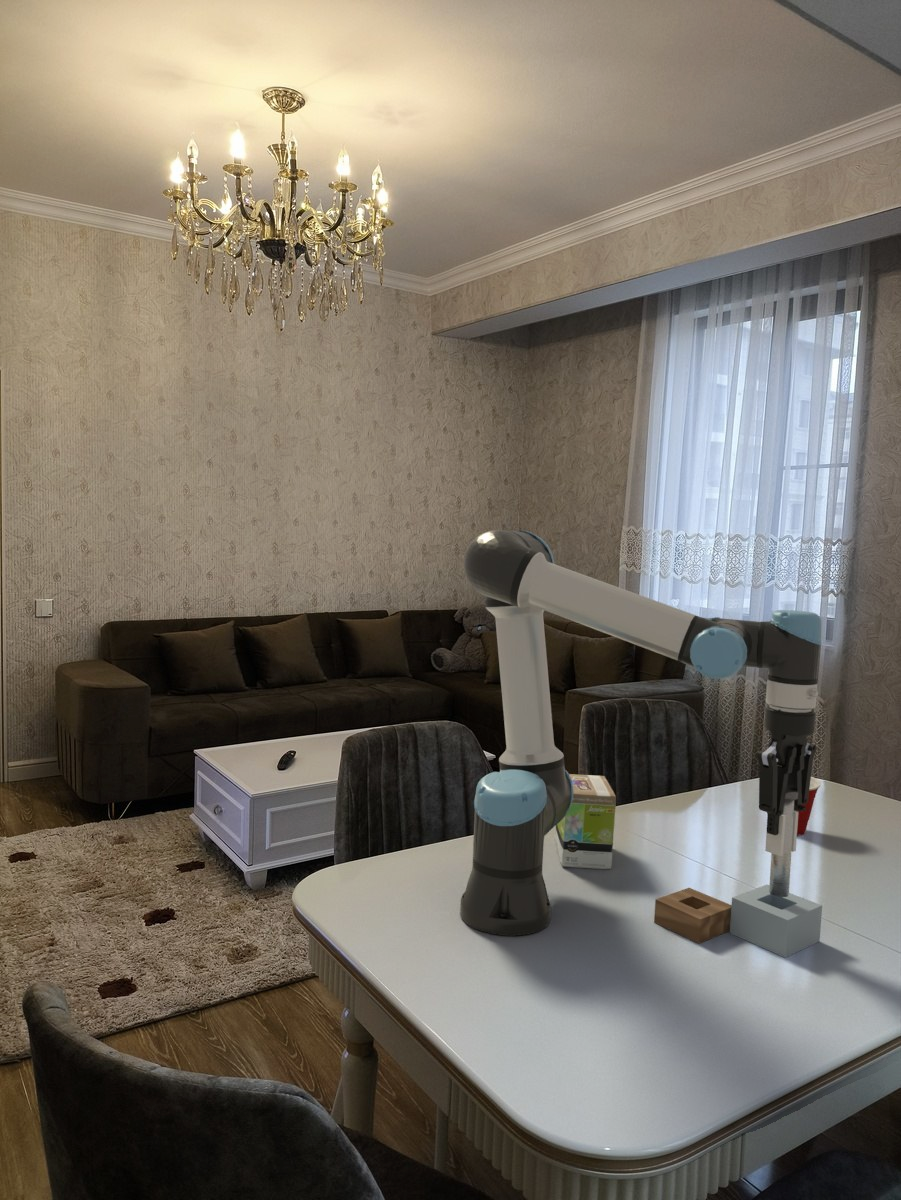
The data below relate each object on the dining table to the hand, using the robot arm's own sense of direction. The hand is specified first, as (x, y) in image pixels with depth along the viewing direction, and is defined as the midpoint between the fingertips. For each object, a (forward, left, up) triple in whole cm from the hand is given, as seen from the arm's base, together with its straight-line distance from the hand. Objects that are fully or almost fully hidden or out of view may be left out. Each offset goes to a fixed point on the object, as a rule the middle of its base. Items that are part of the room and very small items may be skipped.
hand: (780, 850), depth 144 cm
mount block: (-8, +10, -14) cm, 19 cm away
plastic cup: (+51, +28, -15) cm, 60 cm away
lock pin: (0, 0, -7) cm, 7 cm away
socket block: (0, 0, -14) cm, 14 cm away
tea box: (0, +43, -15) cm, 45 cm away
